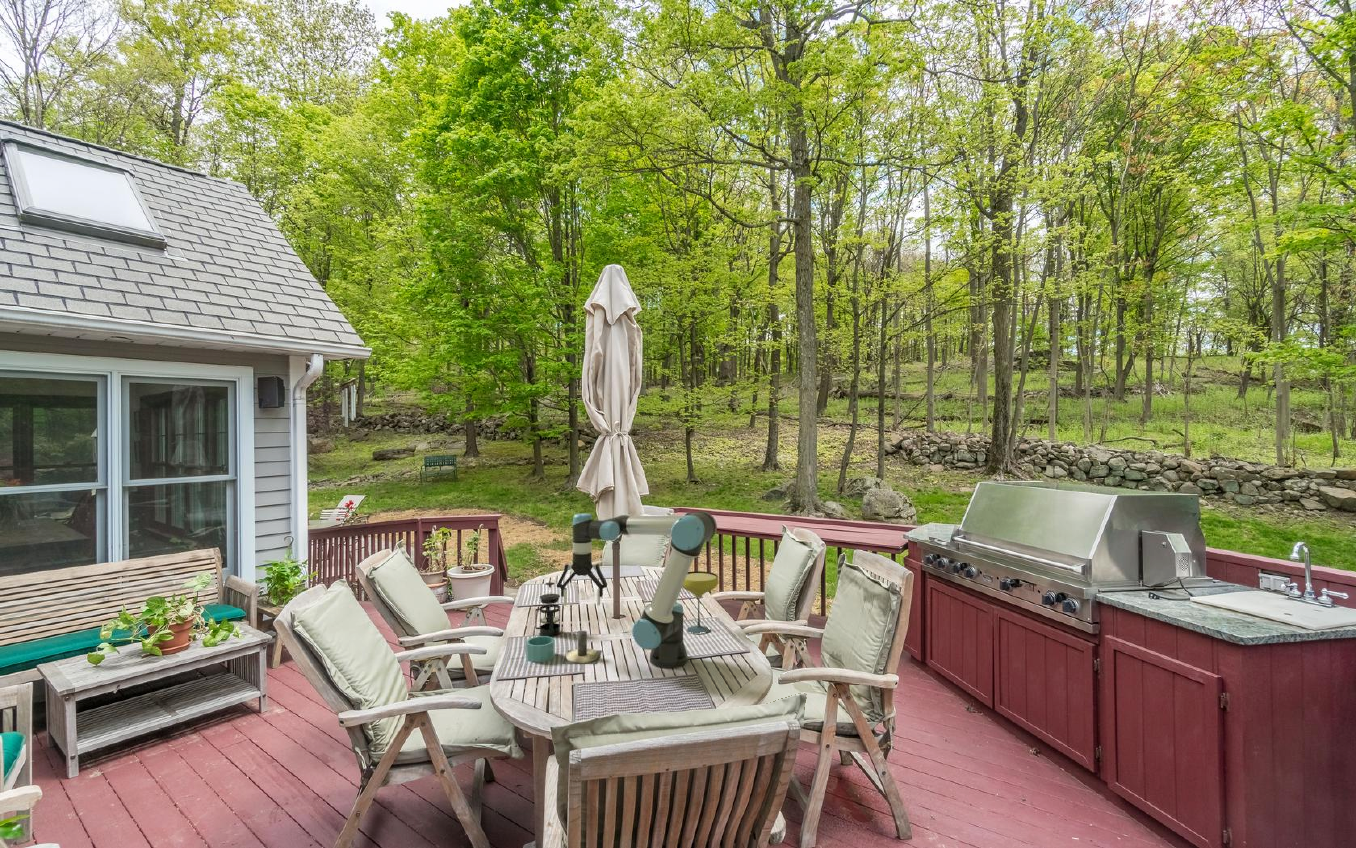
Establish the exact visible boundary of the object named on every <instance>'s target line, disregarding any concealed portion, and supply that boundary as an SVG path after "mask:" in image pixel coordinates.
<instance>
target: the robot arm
mask: <svg viewBox="0 0 1356 848" xmlns="http://www.w3.org/2000/svg"><path fill="white" fill-rule="evenodd" d="M572 518H573V519H572V520H573V521H572V552H573V553H572V564H569V563H565V565H564V568H563V569H564V570H563V572H562V574H561V576H560V578H559V580H558V582H557V583H556V588H559V589H560V597H562V598H563V606H567V604H568V603H567V602H568V589H567V588H568V587H566V586H567V585H568V584H569V583H570V582H571V580H572V579H574V577H575V576H577V577H580V576H584V577H586V576H588V577H589V578H590V579H591V581H592V582H593V583H594V584H595V586H597V596H596V597H597V598H596V599H597V600H596V601H597V606H598V607H599V606H601V598H602V597H603V595H604V589H606V588H607V586H608V583H607V581H606V579H605V576H604V574H603V573H602V571H601V568H600V566H601V565H600V563H595V564H593V563H592V561H593V560H592V559H593V558H592V555H593V554H592V549H593V548H592V547H593V545H592V544H593V542H592V540H593V539H594V540H600V541H606V542H607V541H611V542H612V541H613V542H614V541H616V540H617V538H618V537H619V536H621V535H622V536H623V535H625V536H626V535H627V536H629V535H638V536H639V535H642V536H643V535H644V536H645V535H648V536H649V535H650V536H651V535H655V536H657V535H658V536H659V535H661V536H663V535H665V536H667V535H668V536H670V538H671V541H670V543H669V545H670V547H671V551H670V553H669V557H668V559H667V561H666V563H665V567H664V569H663V572H662V574H661V577H660V580H659V581H658V584H657V587H656V589H655V592H654V594H653V597H652V599H651V602H650V603H649V604H647V605H645V607H644V609H643V611H642V614H641V617H640V619H637V620H636V621H635V623H633V625H632V629H631V634H632V637H633V640H634V642H635V643H636V645H638V647H640V648H642V649H643V650H647V651H649V650H650V653H649V654H650V655H649V662H650V664H651V665H652V666H654V667H657V666H658V667H657V668H663V669H674V668H679V667H682V666H685V665H686V664H687V663H688V661H689V660H688V659H689V658H688V656H689V655H688V651H687V650H686V646H685V643H684V614H685V613H684V607H683V605H682V604H681V603H679V602H677V600H678V599H679V595H680V593H681V591H682V588H683V587H682V586H683V583H684V581H685V578H686V576H687V573H688V572H690V568H691V566H692V564H693V560H694V559H695V558H699V556H700V555H701V552H702V549H703V547H704V545H705V543H708V542H709V541H711V540H712V539H713V538H714V537H715V536H716V533H717V531H718V530H717V529H718V524H717V521H716V519H715V517H714V516H713V515H712V514H711V513H709V512H706V511H697V512H686V513H685V514H684V515H630V516H629V515H628V514H625V515H623V514H621V515H618V516H615V517H612V518H608V519H603V520H602V519H601V520H600V519H599V520H598V519H593V516H592V514H591V513H583V512H582V513H576V514H574V515H573V517H572ZM571 569H572V573H571V575H570V576H569V577H568V578H567V579H566V581H564V579H565V578H566V575H567V573H568V571H569V570H571ZM592 569H593V570H594V571H595V572H596V575H597V576H598V577H597V576H596V575H595V574H594V573H593V571H592ZM598 578H599V579H598ZM563 581H564V583H562V582H563Z"/></svg>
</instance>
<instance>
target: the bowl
mask: <svg viewBox="0 0 1356 848" xmlns="http://www.w3.org/2000/svg"><path fill="white" fill-rule="evenodd" d="M555 641H556V639H554V637H548V636H540V635H539V636H533V637H530V638H529V639H527V640H526V641H525V658H526V661H527V662H530V663H537V664H539V663H545V662H548V661H551V660H553V659H554V658H555V653H556V652H555V649H556V647H555V646H556V643H555Z"/></svg>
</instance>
